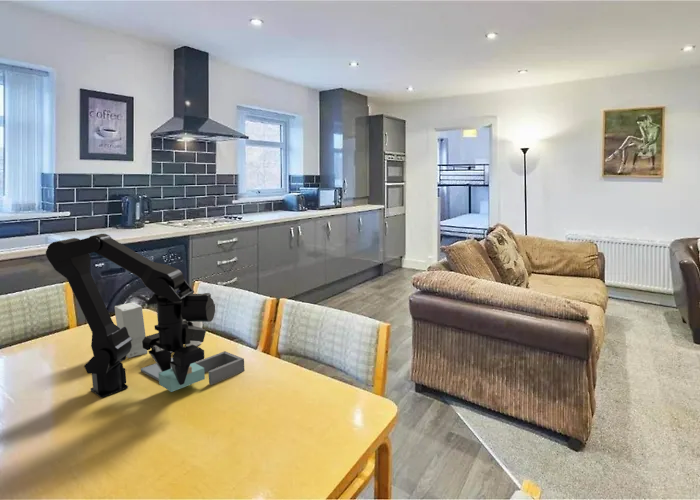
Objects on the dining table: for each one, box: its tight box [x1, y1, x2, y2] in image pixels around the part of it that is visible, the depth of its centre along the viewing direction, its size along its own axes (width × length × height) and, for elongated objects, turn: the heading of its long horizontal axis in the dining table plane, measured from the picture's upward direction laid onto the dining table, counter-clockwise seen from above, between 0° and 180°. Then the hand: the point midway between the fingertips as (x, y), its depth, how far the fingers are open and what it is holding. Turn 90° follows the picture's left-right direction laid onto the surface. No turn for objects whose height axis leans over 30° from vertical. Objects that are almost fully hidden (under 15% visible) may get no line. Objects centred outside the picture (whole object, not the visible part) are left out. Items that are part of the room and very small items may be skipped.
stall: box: [195, 350, 245, 386], centre depth 117 cm, size 11×9×4 cm
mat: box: [140, 356, 195, 382], centre depth 119 cm, size 12×12×1 cm
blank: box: [158, 363, 206, 393], centre depth 108 cm, size 9×6×4 cm, turn 139°
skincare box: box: [114, 301, 149, 359], centre depth 130 cm, size 8×6×15 cm
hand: (174, 380), depth 106 cm, fingers closed on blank, 6 cm apart
